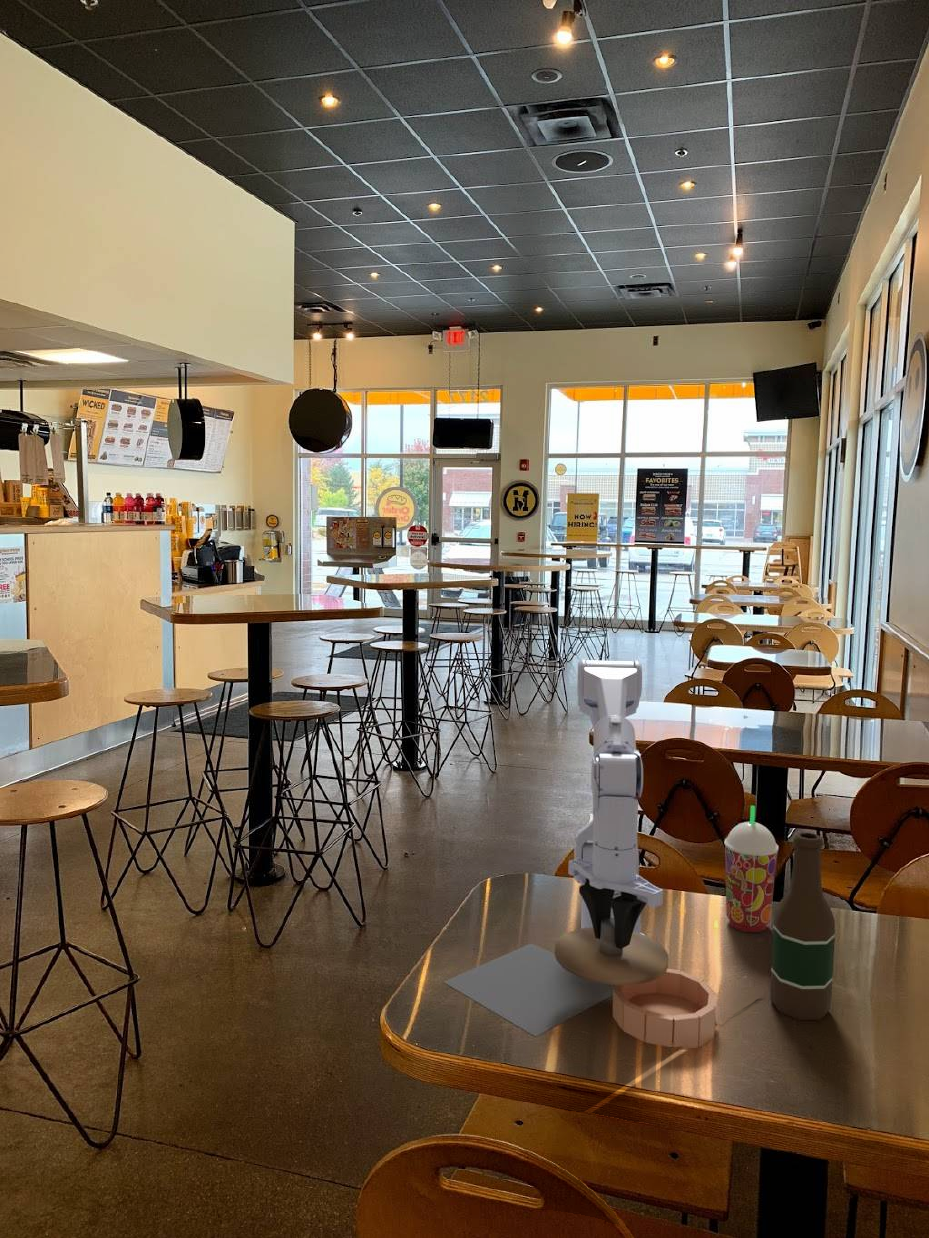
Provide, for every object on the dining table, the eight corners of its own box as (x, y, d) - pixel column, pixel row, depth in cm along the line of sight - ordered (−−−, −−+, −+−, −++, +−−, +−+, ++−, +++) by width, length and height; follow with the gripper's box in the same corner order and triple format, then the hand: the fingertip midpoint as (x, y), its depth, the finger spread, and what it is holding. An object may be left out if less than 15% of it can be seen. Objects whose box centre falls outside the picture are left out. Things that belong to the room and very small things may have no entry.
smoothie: (715, 913, 151) (720, 797, 148) (765, 914, 150) (771, 798, 148) (728, 936, 142) (733, 814, 140) (781, 937, 142) (787, 815, 140)
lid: (606, 923, 131) (607, 891, 130) (691, 962, 119) (693, 927, 119) (531, 951, 121) (532, 917, 121) (616, 997, 110) (617, 959, 109)
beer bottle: (829, 997, 124) (838, 829, 122) (832, 1026, 117) (842, 849, 114) (769, 987, 127) (777, 822, 124) (769, 1015, 119) (777, 841, 117)
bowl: (653, 985, 127) (654, 958, 127) (734, 1023, 117) (735, 994, 117) (593, 1018, 118) (594, 989, 118) (676, 1062, 109) (677, 1031, 108)
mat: (531, 946, 138) (531, 942, 138) (624, 991, 125) (624, 988, 125) (443, 985, 126) (443, 981, 126) (535, 1040, 113) (535, 1036, 113)
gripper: (553, 834, 121) (552, 930, 123) (640, 865, 110) (636, 970, 112) (588, 823, 126) (586, 916, 127) (674, 852, 115) (670, 953, 116)
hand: (612, 940), depth 120 cm, fingers closed on lid, 3 cm apart
